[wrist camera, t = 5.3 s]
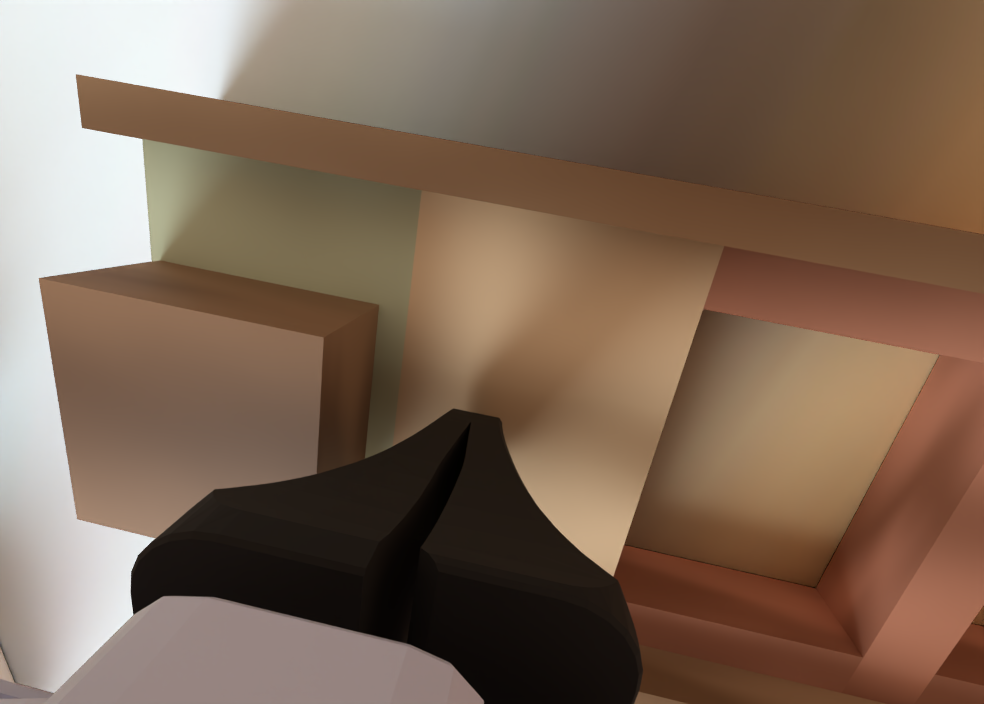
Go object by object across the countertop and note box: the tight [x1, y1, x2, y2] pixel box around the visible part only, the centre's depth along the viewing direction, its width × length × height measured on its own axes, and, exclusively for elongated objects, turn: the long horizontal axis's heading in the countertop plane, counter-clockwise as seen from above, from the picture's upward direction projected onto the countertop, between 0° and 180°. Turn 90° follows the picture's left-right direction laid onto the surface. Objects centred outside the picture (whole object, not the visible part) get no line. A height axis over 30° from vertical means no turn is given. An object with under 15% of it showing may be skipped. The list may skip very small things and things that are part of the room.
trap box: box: [76, 74, 984, 704], centre depth 12 cm, size 14×32×4 cm, turn 80°
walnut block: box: [39, 260, 379, 538], centre depth 11 cm, size 6×6×3 cm
